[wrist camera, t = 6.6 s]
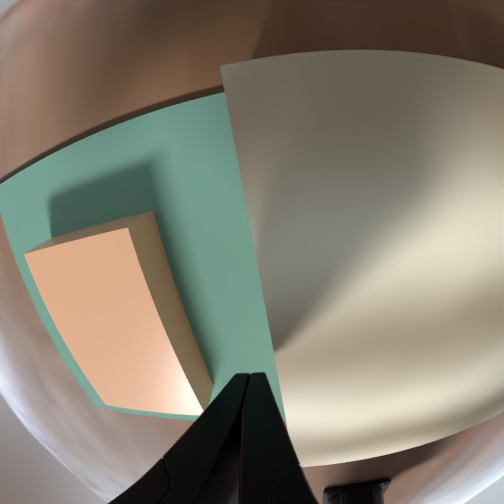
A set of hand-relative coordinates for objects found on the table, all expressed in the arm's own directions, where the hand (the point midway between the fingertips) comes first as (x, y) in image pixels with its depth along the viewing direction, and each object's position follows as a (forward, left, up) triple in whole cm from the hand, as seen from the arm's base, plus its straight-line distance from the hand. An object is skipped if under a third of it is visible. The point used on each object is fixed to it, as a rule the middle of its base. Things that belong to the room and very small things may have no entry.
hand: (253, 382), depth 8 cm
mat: (0, +6, -4) cm, 8 cm away
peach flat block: (0, +6, -2) cm, 7 cm away
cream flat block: (0, -11, -4) cm, 11 cm away
